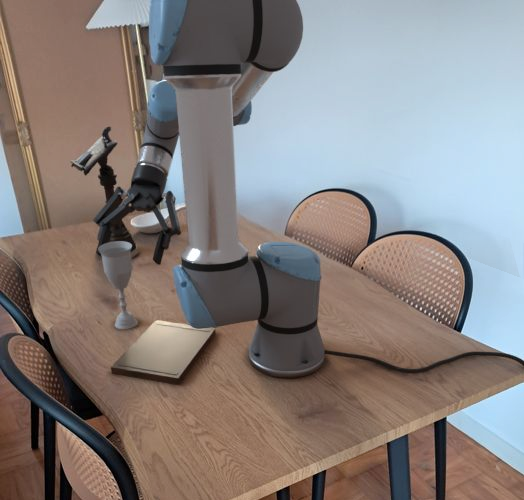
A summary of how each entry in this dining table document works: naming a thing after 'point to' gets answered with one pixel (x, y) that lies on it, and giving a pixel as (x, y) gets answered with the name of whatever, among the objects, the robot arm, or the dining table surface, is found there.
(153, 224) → the spoon rest
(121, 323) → the chalice
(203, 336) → the serving board
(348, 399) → the dining table surface
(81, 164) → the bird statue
